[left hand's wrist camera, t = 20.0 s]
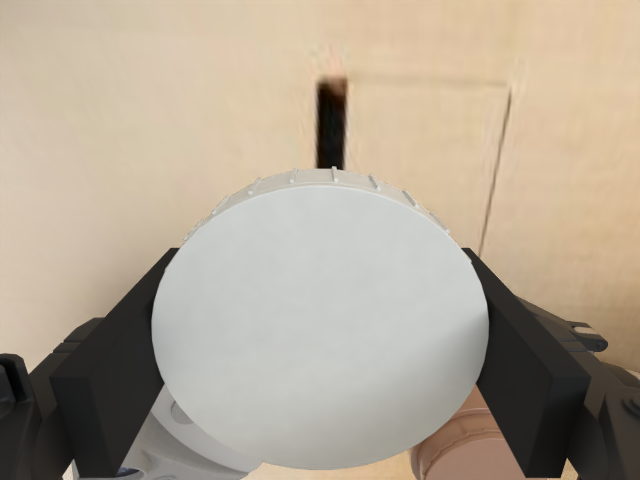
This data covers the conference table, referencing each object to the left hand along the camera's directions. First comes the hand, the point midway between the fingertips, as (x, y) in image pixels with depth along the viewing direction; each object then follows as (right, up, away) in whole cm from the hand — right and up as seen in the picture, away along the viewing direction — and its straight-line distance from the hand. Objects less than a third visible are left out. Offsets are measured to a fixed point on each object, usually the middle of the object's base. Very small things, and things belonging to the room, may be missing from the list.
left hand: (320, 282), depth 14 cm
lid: (0, -1, -3) cm, 3 cm away
